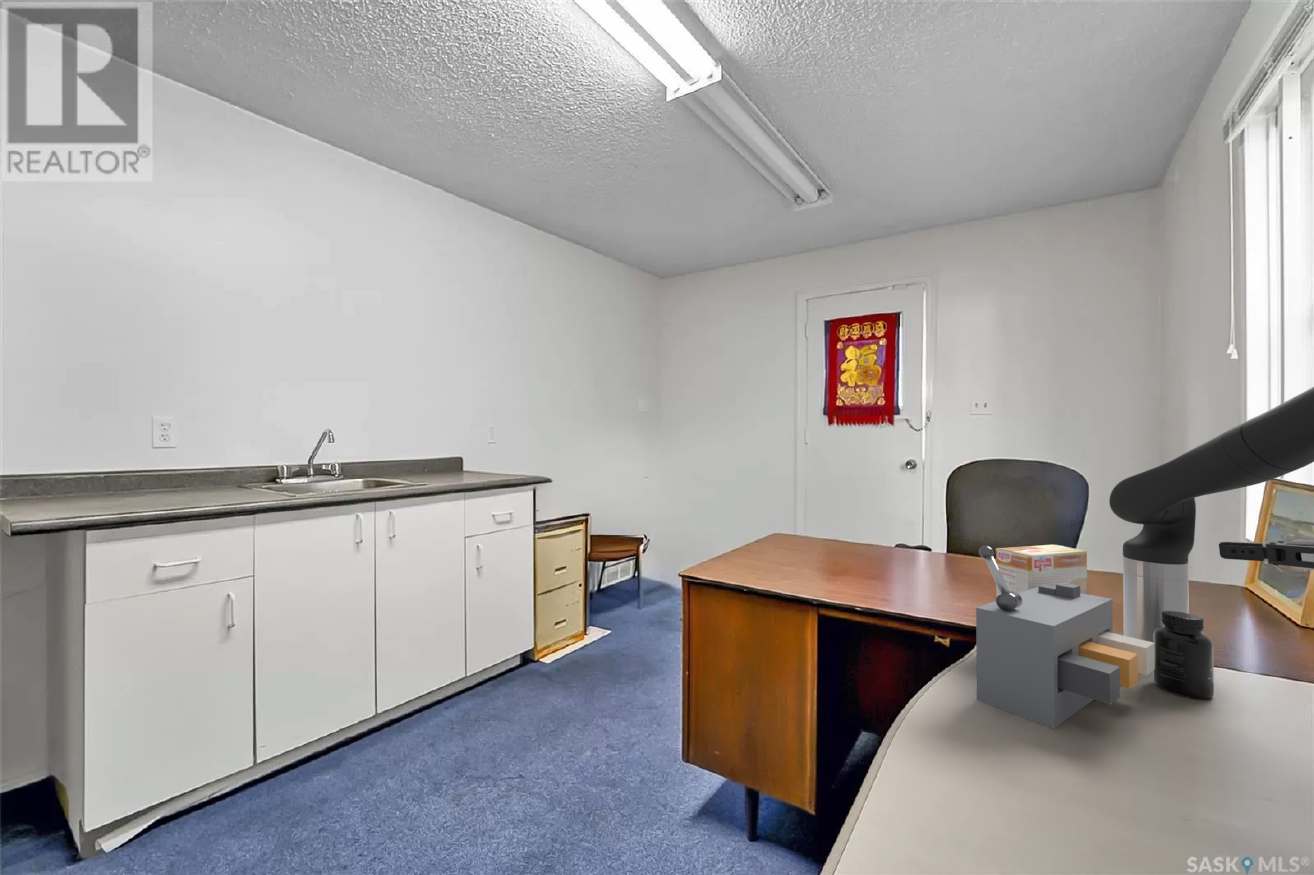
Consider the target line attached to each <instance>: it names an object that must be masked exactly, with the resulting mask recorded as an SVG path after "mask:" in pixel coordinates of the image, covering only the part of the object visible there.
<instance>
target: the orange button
mask: <svg viewBox="0 0 1314 875" xmlns="http://www.w3.org/2000/svg"><path fill="white" fill-rule="evenodd" d="M1079 656H1082V657H1086V658H1089V659H1093V660H1097V661H1100V662H1104V663H1108V664H1111V665H1115V666H1119V667H1120V688H1125V689H1128V690H1130V689H1132V688H1133V687H1134V686H1135V685H1137V684H1138V683H1139V673H1138V654H1136V653H1132V652H1128V651H1124V650H1120V649H1116V648H1112V647H1108V646H1104V645H1100V644H1096V643H1092V642H1088V641H1084V642H1083V643H1081V644H1079Z"/></svg>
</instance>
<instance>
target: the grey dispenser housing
mask: <svg viewBox="0 0 1314 875" xmlns="http://www.w3.org/2000/svg"><path fill="white" fill-rule="evenodd" d="M1018 594H1019V595H1020V596H1021V598H1022V604H1021V606H1019V607H1017V608H1014V609H1012V610H1009V611H1005V610H1002V609H1000V608H999V607H998V606H997V604H996V600H995V601H992V602H989V603H986V604H982V605H980V606H977V607H976V609H975V610H976V612H975V614H976V618H975V620H976V621H975V622H976V623H975V625H976V627H975V628H976V629H975V631H976V634H975V636H976V637H975V638H976V640H975V641H976V645H975V646H976V653H975V654H976V655H975V656H976V700H977V701H980V702H983V703H985V704H988V705H990V706H993V707H995V708H999V709H1000V710H1003V711H1006V712H1009V713H1012V714H1015V715H1018V716H1019V717H1022V718H1024V719H1028V720H1030V721H1034V722H1036V723H1038V724H1041V725H1043V726H1046V727H1048V728H1051V729H1056V728H1057V727H1059V726H1060V725H1061V724H1063V723H1064V722H1066V721H1067V720H1069V719H1070V718H1071V717H1072V716H1074V715H1075V714H1076V713H1077V712H1079V711H1081V710H1082V709H1083V708H1084V707H1086V706H1087V705H1089V704H1090V703H1091V702H1093V701H1095V700H1094V699H1091V698H1088V697H1085V696H1082V695H1079V694H1076V693H1073V692H1069V691H1066V690H1063V689H1060V688H1058V656H1059V655H1061V654H1063V653H1064V652H1067V653H1071V654H1074V655H1078V656H1079V644H1081V643H1083V642H1084V641H1088V642H1092V643H1096V644H1098V634H1099V633H1101V632H1103V631H1106V632H1110V633H1114V631H1113V598H1109V597H1105V596H1104V597H1103V596H1098V595H1094V594H1088V593H1087V594H1083V593H1080V585H1075V584H1070V583H1064V582H1062V583H1059V584H1057V585H1056V586H1055V585H1049V584H1044V585H1041V586H1038V587H1035V588H1032V589H1029V590H1026V591H1023V592H1020V593H1018Z"/></svg>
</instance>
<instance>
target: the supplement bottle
mask: <svg viewBox="0 0 1314 875" xmlns="http://www.w3.org/2000/svg"><path fill="white" fill-rule="evenodd" d="M1161 623H1162V624H1163V627H1159V628H1157V629H1156V630H1155V631H1154V634H1153V639H1154V648H1155V669H1154V670H1153V681H1154V683H1155V684H1156V686H1157V687H1159V688H1160V689H1161V690H1162V689H1163V690H1164V691H1166V692H1168V693H1172V694H1175V695H1178V696H1181V697H1187V698H1191V699H1198V700H1199V699H1200V700H1208V699H1211V698H1212V697H1214V693H1215V681H1214V680H1215V675H1214V674H1215V672H1214V671H1215V669H1214V668H1215V666H1214V643H1213V641H1212V640H1211V638H1210V637H1208V636H1207V635H1206V634H1204V633H1203V632H1204V631H1205V626H1204V625H1205V624H1204V618H1203V617H1202V616H1199V615H1196V614H1192V613H1189V614H1188V613H1183V612H1176V611H1163V612H1162V619H1161Z"/></svg>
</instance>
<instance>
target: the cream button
mask: <svg viewBox="0 0 1314 875" xmlns="http://www.w3.org/2000/svg"><path fill="white" fill-rule="evenodd" d="M1098 644H1100V645H1104V646H1108V647H1112V648H1116V649H1120V650H1124V651H1128V652H1132V653H1136V654H1138V674H1140V675H1145V676H1148V675H1149V674H1150V673H1152V672H1154V669H1155V648H1154V643H1153V642H1149V641H1145V640H1140V639H1136V638H1132V637H1127V636H1124V634H1120V633H1119V634H1118V633H1114V632H1113V633H1110V632H1106V631H1103V632H1101V633H1099V634H1098Z"/></svg>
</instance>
